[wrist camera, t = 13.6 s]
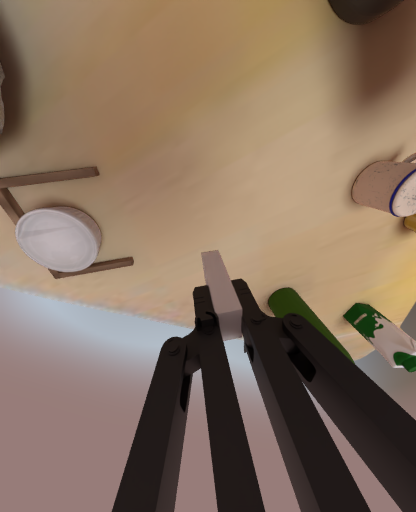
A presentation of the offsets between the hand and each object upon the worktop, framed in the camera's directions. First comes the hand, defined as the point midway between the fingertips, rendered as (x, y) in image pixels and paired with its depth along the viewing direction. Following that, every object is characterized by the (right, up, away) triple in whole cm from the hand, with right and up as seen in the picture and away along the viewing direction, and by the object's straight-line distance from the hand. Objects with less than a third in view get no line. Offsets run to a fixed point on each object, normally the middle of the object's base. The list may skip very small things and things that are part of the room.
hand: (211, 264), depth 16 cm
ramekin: (-25, +5, +17) cm, 31 cm away
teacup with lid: (+36, +18, +22) cm, 45 cm away
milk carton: (+54, -19, +49) cm, 75 cm away
